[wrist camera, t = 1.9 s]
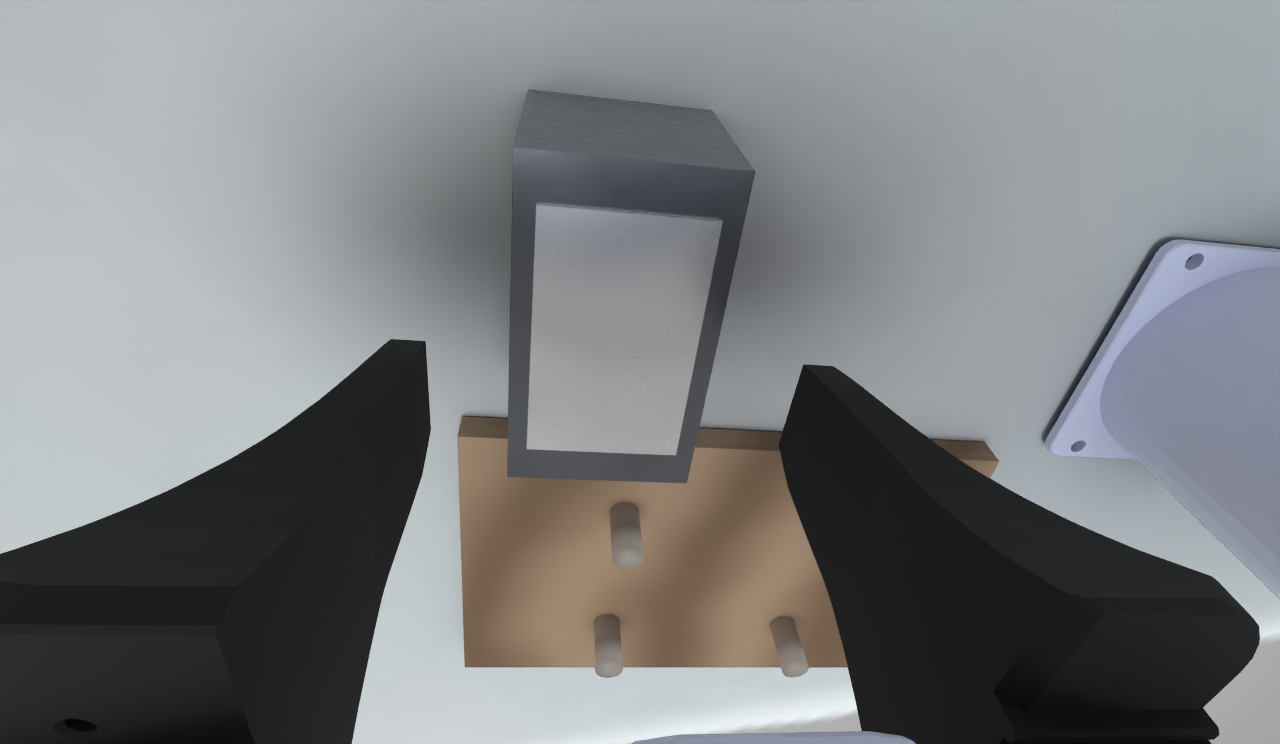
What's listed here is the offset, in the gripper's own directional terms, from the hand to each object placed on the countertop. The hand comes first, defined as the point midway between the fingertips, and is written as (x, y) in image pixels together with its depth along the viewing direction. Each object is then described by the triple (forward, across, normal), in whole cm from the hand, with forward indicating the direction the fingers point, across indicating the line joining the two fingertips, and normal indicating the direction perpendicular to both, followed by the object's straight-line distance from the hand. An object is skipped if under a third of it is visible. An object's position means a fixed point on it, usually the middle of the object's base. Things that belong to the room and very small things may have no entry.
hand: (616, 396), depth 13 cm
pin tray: (+7, -5, +12) cm, 15 cm away
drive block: (+7, 0, 0) cm, 7 cm away
